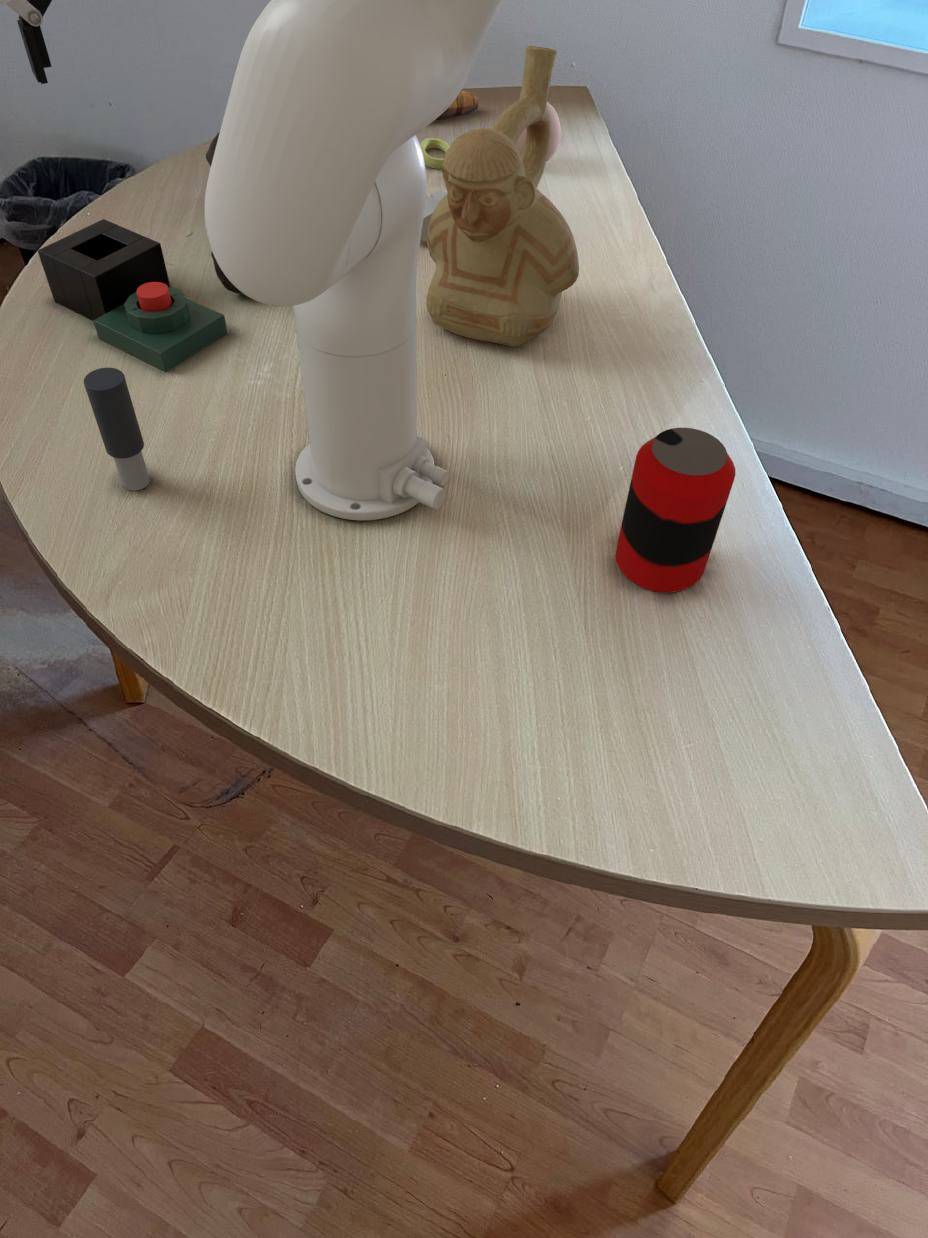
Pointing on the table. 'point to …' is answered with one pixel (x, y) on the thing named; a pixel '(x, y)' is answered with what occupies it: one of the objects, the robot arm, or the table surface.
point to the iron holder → (101, 267)
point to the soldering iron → (118, 425)
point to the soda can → (674, 509)
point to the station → (161, 330)
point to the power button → (154, 297)
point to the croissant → (461, 105)
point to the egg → (554, 134)
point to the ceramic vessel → (501, 225)
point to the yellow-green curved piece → (433, 143)
